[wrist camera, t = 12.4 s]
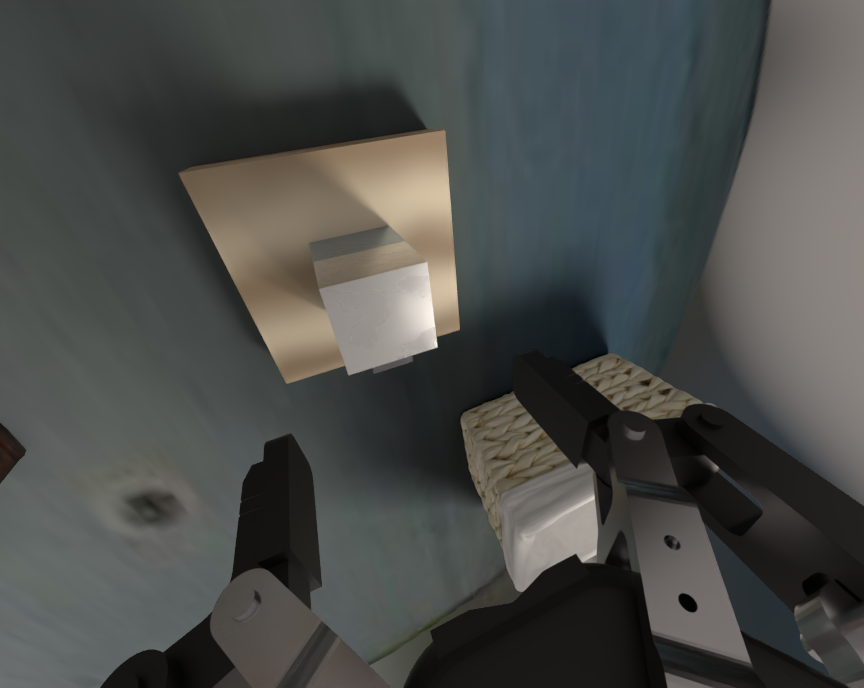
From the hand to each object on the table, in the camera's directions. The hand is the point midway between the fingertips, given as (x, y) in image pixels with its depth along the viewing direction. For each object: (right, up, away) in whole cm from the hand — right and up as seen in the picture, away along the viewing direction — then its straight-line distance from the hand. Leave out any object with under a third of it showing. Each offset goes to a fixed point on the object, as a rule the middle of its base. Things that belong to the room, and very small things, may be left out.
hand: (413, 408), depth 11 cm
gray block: (-4, +7, +10) cm, 13 cm away
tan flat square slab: (-5, +9, +12) cm, 16 cm away
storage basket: (+14, -7, +32) cm, 36 cm away
